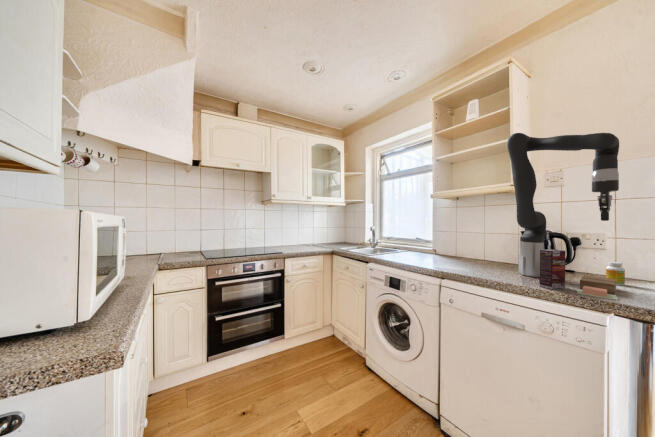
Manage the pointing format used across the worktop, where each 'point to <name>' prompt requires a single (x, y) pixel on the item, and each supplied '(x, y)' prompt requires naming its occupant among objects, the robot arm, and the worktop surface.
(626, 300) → the worktop surface
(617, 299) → the mat
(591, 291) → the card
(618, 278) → the supplement bottle
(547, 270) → the supplement box
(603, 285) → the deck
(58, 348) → the worktop surface
